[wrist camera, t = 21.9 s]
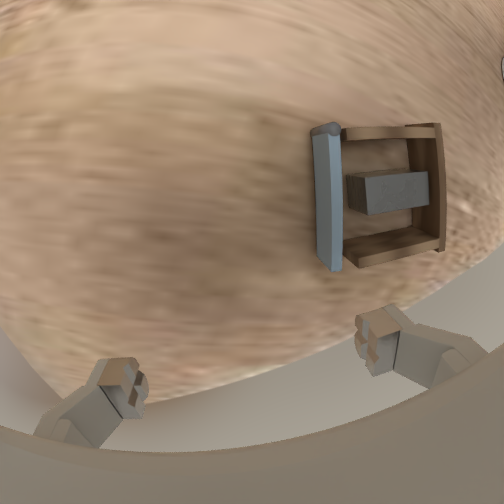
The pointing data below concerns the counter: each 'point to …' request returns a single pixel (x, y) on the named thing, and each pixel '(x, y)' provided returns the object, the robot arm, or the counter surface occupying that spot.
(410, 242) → the wooden u-shaped block
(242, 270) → the counter surface
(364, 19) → the counter surface
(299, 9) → the counter surface
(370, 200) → the dark gray rectangular block
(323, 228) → the rounded end plank
